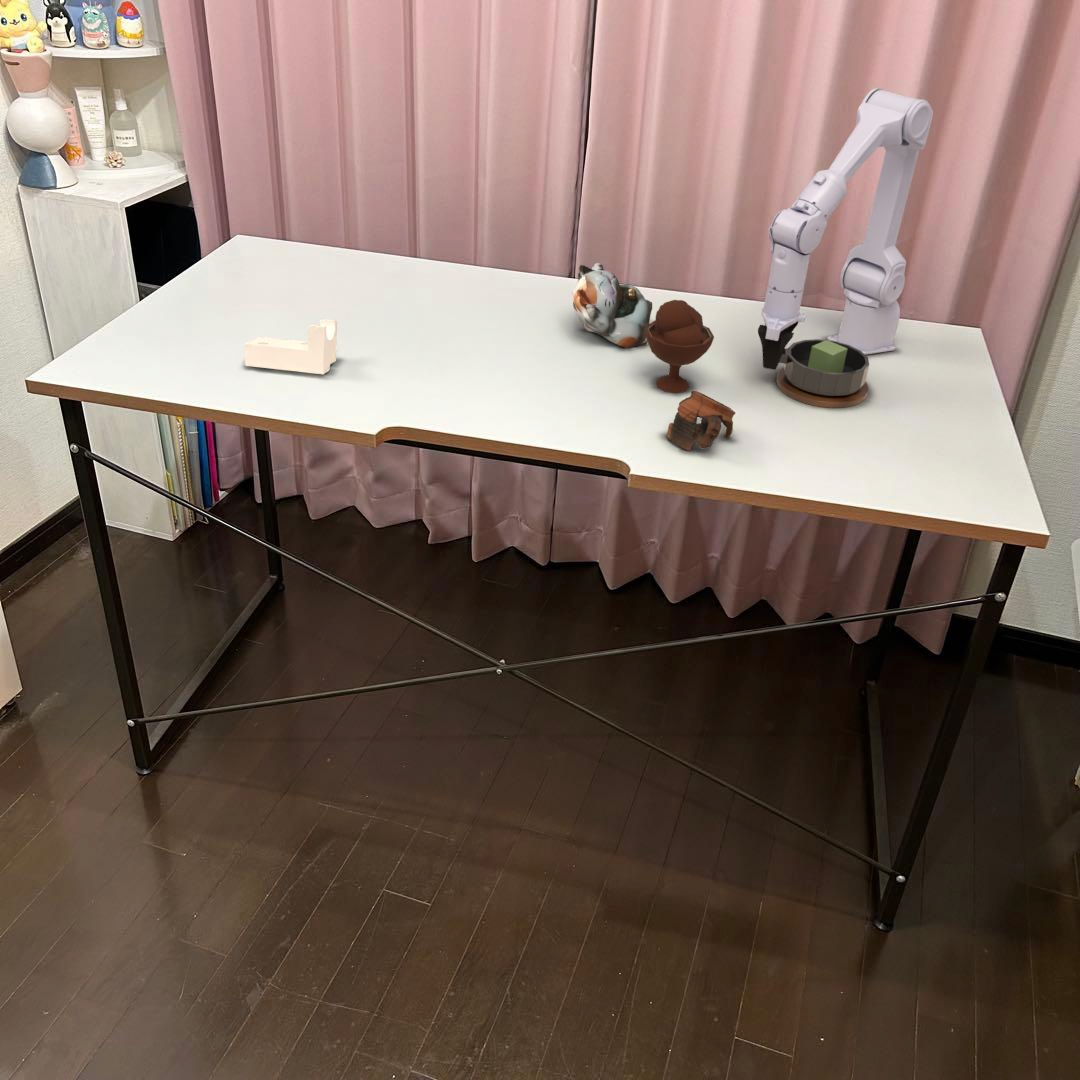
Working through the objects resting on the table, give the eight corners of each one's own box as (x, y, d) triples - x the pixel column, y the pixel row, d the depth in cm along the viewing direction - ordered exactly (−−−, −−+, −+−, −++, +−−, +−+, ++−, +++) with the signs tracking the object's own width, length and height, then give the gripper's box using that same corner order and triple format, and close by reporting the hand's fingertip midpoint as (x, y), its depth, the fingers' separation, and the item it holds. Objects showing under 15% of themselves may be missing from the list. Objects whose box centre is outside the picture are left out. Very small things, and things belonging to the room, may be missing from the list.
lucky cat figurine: (648, 353, 197) (619, 291, 188) (585, 366, 202) (554, 306, 193) (660, 299, 206) (633, 237, 197) (600, 313, 211) (570, 252, 202)
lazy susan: (832, 362, 198) (833, 357, 198) (885, 400, 187) (887, 395, 186) (759, 373, 193) (760, 368, 192) (809, 413, 182) (810, 408, 181)
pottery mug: (654, 429, 176) (679, 381, 174) (704, 453, 179) (729, 406, 177) (679, 449, 164) (706, 398, 163) (732, 474, 168) (759, 424, 166)
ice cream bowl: (703, 404, 182) (716, 317, 174) (634, 394, 184) (644, 307, 175) (708, 376, 191) (721, 291, 183) (643, 367, 193) (652, 283, 184)
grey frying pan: (860, 368, 194) (865, 344, 191) (866, 403, 183) (872, 378, 181) (760, 356, 196) (764, 333, 193) (760, 390, 185) (765, 366, 182)
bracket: (336, 366, 189) (337, 320, 186) (323, 374, 182) (324, 327, 180) (260, 357, 190) (260, 312, 188) (244, 365, 183) (244, 318, 181)
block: (806, 373, 189) (811, 346, 186) (820, 367, 191) (826, 339, 188) (827, 382, 186) (833, 355, 183) (841, 375, 189) (847, 348, 186)
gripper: (804, 306, 174) (788, 386, 182) (817, 274, 186) (802, 351, 194) (758, 298, 176) (745, 377, 184) (774, 267, 188) (761, 343, 195)
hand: (771, 363), depth 189 cm, fingers closed on grey frying pan, 3 cm apart
